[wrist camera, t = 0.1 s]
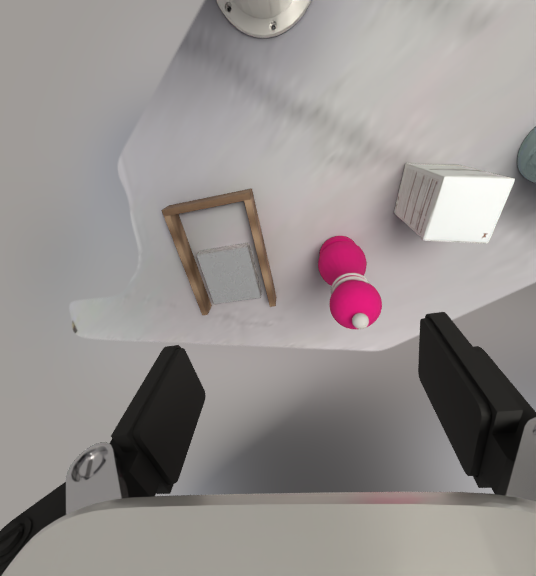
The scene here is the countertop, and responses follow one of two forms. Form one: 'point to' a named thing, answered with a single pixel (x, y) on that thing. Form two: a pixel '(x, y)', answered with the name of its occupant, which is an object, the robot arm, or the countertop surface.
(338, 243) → the pepper mill
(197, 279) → the wooden u-shaped frame
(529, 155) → the drinking glass
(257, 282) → the cover plate
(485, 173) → the supplement box
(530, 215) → the countertop surface
